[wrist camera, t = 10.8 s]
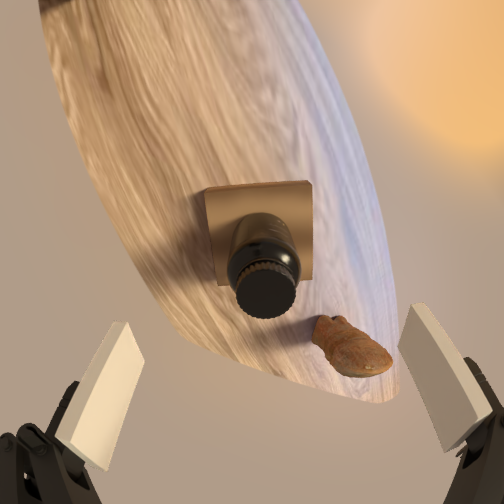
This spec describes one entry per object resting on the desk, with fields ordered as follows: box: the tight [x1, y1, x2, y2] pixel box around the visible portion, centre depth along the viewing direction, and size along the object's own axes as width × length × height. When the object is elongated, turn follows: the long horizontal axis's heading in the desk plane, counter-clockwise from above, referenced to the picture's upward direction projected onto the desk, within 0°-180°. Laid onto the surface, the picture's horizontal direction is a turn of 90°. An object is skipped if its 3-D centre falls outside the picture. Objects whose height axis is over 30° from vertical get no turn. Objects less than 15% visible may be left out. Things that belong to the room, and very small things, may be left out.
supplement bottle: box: [227, 212, 302, 319], centre depth 27 cm, size 7×7×12 cm
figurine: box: [312, 315, 393, 378], centre depth 34 cm, size 8×8×15 cm
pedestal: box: [204, 180, 313, 286], centre depth 34 cm, size 12×12×3 cm
